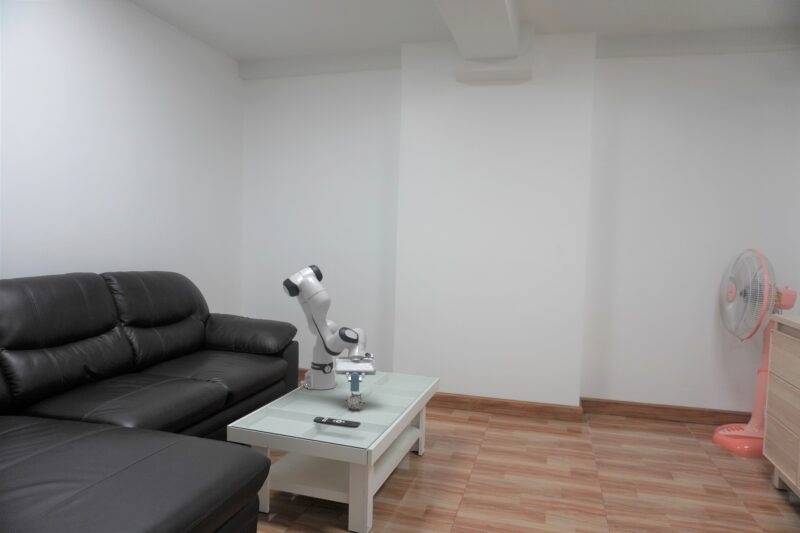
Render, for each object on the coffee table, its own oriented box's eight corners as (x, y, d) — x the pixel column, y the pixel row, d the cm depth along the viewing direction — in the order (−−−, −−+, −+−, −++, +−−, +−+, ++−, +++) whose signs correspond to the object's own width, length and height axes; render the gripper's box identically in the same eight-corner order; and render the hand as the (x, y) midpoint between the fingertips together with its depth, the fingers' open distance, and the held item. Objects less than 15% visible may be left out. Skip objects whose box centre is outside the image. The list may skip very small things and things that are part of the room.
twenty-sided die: (358, 416, 270) (370, 400, 271) (351, 415, 263) (364, 398, 264) (345, 405, 274) (358, 388, 275) (339, 403, 267) (351, 386, 267)
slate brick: (351, 389, 270) (351, 371, 270) (359, 389, 270) (359, 371, 270) (350, 391, 266) (350, 373, 266) (358, 391, 266) (359, 373, 266)
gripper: (335, 353, 275) (333, 377, 265) (376, 354, 275) (375, 378, 266) (336, 360, 279) (334, 384, 270) (376, 361, 280) (375, 385, 270)
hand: (354, 381), depth 268 cm, fingers closed on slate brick, 4 cm apart
